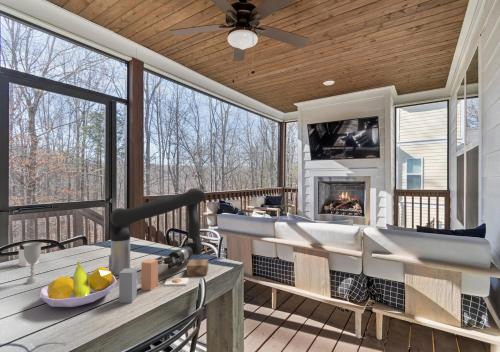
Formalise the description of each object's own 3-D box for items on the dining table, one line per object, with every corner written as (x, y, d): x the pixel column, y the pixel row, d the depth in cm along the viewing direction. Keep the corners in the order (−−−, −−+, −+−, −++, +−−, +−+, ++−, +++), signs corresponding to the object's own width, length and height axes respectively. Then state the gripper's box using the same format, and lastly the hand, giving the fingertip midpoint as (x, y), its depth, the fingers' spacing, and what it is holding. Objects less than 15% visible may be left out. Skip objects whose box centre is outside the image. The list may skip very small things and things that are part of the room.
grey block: (119, 303, 107) (119, 272, 107) (124, 297, 112) (124, 268, 112) (132, 302, 108) (132, 272, 108) (136, 297, 113) (136, 268, 113)
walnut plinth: (186, 275, 137) (186, 265, 137) (189, 268, 147) (189, 259, 147) (206, 275, 138) (206, 265, 138) (208, 268, 148) (208, 259, 148)
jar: (22, 262, 156) (22, 241, 156) (40, 261, 159) (40, 240, 159) (16, 267, 148) (16, 245, 148) (35, 265, 151) (35, 244, 151)
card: (164, 285, 124) (164, 283, 124) (167, 280, 131) (167, 278, 131) (186, 285, 125) (186, 283, 125) (188, 279, 132) (188, 277, 132)
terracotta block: (141, 289, 121) (141, 262, 121) (148, 284, 125) (148, 258, 125) (151, 290, 119) (151, 263, 119) (157, 286, 124) (158, 259, 124)
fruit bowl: (110, 309, 102) (110, 279, 102) (24, 320, 95) (24, 287, 95) (122, 281, 129) (122, 257, 129) (56, 288, 121) (56, 262, 121)
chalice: (20, 286, 123) (20, 246, 123) (24, 281, 129) (24, 243, 129) (40, 283, 127) (40, 244, 127) (43, 278, 133) (43, 241, 133)
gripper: (167, 248, 148) (147, 257, 132) (190, 250, 143) (173, 259, 128) (167, 262, 148) (147, 272, 132) (190, 264, 143) (173, 275, 128)
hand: (160, 266), depth 130 cm, fingers open, 8 cm apart
